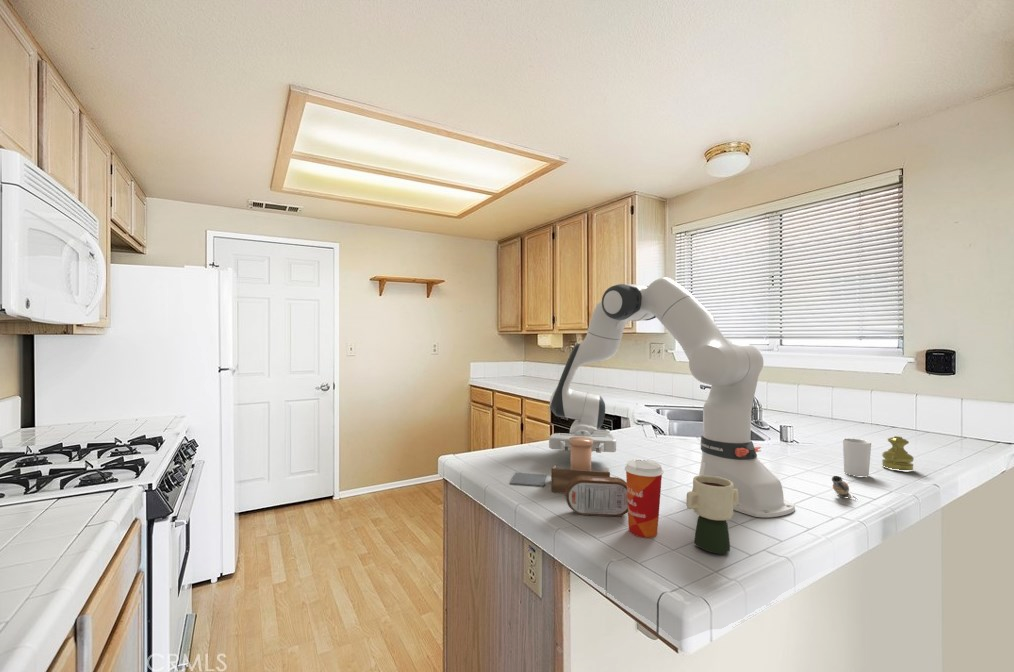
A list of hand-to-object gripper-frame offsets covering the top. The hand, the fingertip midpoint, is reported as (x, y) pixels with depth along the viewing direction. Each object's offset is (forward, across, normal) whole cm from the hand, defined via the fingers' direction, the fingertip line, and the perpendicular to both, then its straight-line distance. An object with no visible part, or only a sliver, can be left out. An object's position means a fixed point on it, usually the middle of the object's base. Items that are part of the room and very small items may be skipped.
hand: (581, 449), depth 132 cm
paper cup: (+37, +13, +7) cm, 40 cm away
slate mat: (+10, -14, +7) cm, 19 cm away
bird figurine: (+7, +64, +7) cm, 65 cm away
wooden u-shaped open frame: (+13, 0, +7) cm, 15 cm away
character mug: (+42, +25, +7) cm, 50 cm away
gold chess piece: (-25, +96, +7) cm, 99 cm away
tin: (+30, +4, +7) cm, 31 cm away
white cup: (-16, +80, +7) cm, 82 cm away
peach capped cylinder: (+10, 0, +7) cm, 12 cm away
